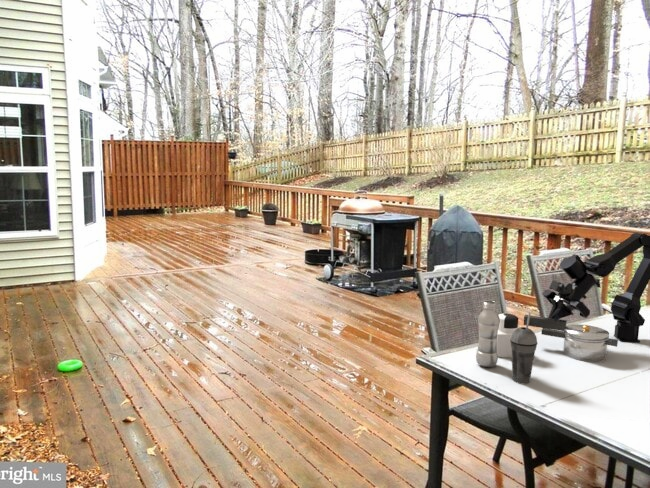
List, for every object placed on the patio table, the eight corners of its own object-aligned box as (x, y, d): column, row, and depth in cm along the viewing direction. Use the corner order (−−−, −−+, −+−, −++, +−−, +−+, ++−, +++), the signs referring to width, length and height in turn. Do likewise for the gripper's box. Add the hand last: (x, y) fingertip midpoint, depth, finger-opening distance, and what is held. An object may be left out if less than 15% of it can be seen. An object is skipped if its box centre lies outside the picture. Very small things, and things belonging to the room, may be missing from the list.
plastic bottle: (497, 363, 160) (501, 300, 157) (497, 371, 153) (501, 306, 151) (476, 360, 162) (479, 298, 159) (474, 368, 156) (478, 304, 153)
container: (514, 349, 172) (516, 312, 170) (520, 358, 164) (523, 318, 162) (490, 348, 173) (492, 311, 171) (496, 357, 165) (498, 318, 163)
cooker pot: (617, 354, 168) (619, 334, 167) (614, 367, 157) (616, 345, 156) (544, 341, 180) (546, 322, 179) (537, 352, 169) (538, 332, 168)
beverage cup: (503, 375, 150) (507, 309, 147) (527, 375, 151) (531, 308, 148) (514, 386, 143) (519, 316, 140) (539, 385, 144) (544, 316, 141)
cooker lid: (609, 331, 169) (610, 322, 168) (608, 343, 158) (608, 333, 157) (527, 319, 182) (527, 311, 181) (520, 329, 170) (521, 320, 170)
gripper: (548, 267, 183) (518, 299, 183) (584, 278, 165) (552, 313, 165) (566, 287, 186) (537, 319, 186) (604, 300, 168) (572, 335, 167)
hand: (548, 321), depth 176 cm, fingers closed
